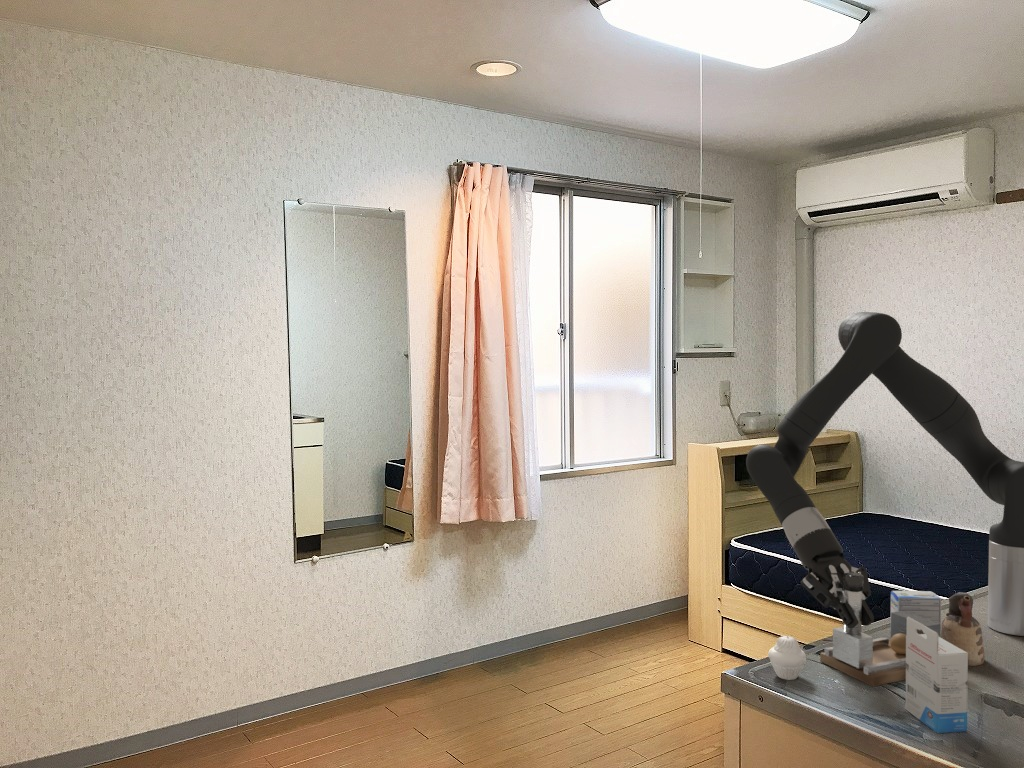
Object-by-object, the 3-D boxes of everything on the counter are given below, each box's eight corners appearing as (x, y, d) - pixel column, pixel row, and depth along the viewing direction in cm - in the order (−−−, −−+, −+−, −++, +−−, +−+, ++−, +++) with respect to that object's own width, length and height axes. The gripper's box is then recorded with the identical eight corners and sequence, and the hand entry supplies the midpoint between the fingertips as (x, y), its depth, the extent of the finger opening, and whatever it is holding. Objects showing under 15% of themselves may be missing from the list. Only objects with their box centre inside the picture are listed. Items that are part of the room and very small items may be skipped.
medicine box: (931, 634, 161) (932, 590, 161) (941, 643, 157) (942, 597, 156) (889, 633, 162) (890, 589, 162) (897, 641, 158) (898, 596, 157)
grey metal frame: (898, 640, 154) (898, 608, 153) (944, 659, 144) (945, 625, 144) (824, 654, 147) (824, 621, 147) (868, 675, 138) (868, 639, 138)
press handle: (846, 653, 146) (847, 569, 146) (872, 665, 141) (874, 578, 140) (832, 656, 145) (833, 571, 144) (858, 668, 140) (859, 580, 139)
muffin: (807, 672, 143) (808, 632, 143) (804, 686, 137) (804, 644, 137) (770, 667, 146) (770, 627, 145) (765, 679, 140) (765, 639, 140)
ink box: (968, 732, 121) (970, 632, 120) (936, 734, 120) (938, 633, 119) (934, 707, 129) (935, 613, 128) (903, 708, 129) (905, 614, 128)
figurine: (980, 654, 151) (981, 588, 150) (988, 668, 144) (989, 600, 144) (936, 649, 153) (937, 585, 153) (942, 663, 147) (943, 596, 146)
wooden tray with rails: (896, 646, 155) (896, 619, 155) (951, 669, 144) (952, 640, 144) (820, 661, 148) (820, 633, 148) (872, 686, 137) (873, 656, 137)
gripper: (791, 530, 146) (842, 619, 136) (852, 523, 152) (906, 608, 141) (770, 553, 151) (818, 641, 141) (830, 545, 157) (881, 629, 146)
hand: (862, 624), depth 141 cm, fingers closed on press handle, 3 cm apart
